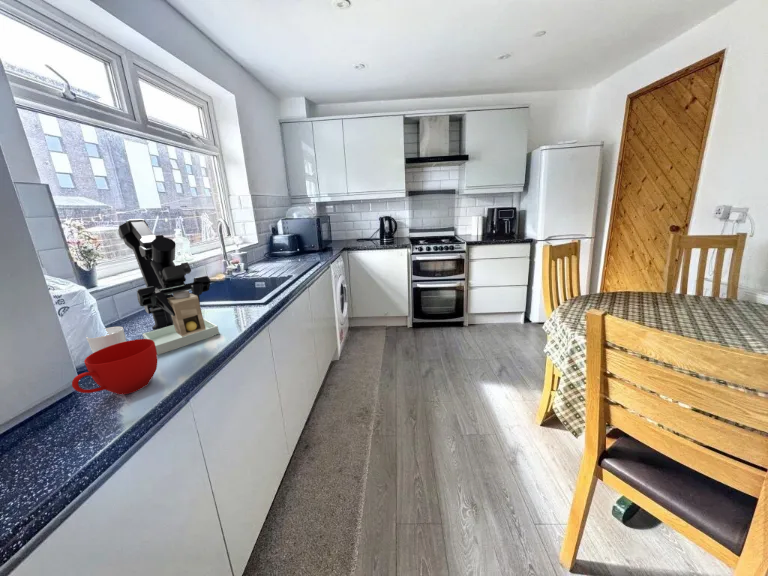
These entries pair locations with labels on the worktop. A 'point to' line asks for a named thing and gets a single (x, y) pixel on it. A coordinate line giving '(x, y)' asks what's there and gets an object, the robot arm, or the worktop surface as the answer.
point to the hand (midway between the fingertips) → (187, 311)
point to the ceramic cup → (121, 367)
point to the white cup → (107, 339)
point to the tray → (178, 337)
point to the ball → (191, 326)
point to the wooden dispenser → (186, 312)
